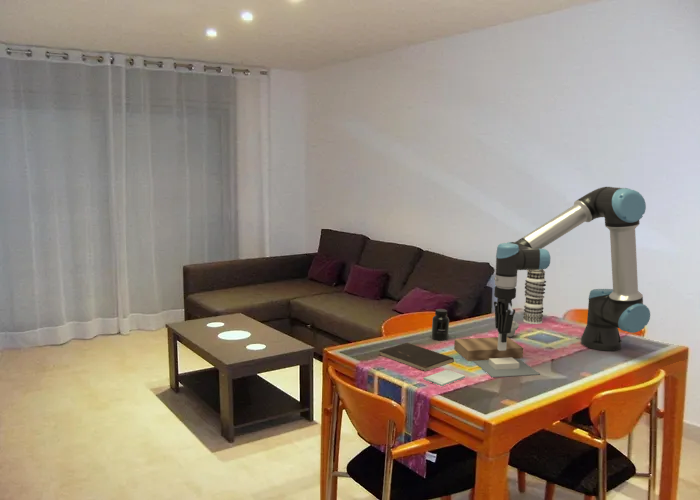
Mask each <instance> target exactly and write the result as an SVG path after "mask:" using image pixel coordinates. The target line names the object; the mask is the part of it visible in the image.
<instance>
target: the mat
mask: <svg viewBox="0 0 700 500" xmlns="http://www.w3.org/2000/svg"><path fill="white" fill-rule="evenodd" d="M515 360H516V361H517V362H519V368H518V369H499V370H495V369H494V368H493V367H492V366H491V365H489V360H480V361H473V362H474V363H475V365H477V366H478V368H480V367H481V368H482V369H481V368H480V369H481V370H483V372H484V373H486V372H487V373H488V374H489V375H490V376H491V378H492V377H493V378H508V377H509V378H510V377H521V376H522V377H526V376H541V373H539V372H538V370H536V369H534V368H532V366H530V365H528V364H527V363H526V362H525V361H523V360H522V359H521V358H517V359H515ZM487 373H486V374H487ZM488 374H487V375H488ZM489 375H488V376H489ZM490 376H489V377H490Z"/></svg>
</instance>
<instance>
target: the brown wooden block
mask: <svg viewBox="0 0 700 500" xmlns="http://www.w3.org/2000/svg"><path fill="white" fill-rule="evenodd" d="M453 347H454V350H455V351H456V352H457V353H458V354H459V355H460V356H461V357H463V359H465V360H466V361H467V362H474V361H483V360H489V359H491V358H511V357H512V358H513V359H523V358H524V347H523V346H522V345H520V344H518V343H517V342H515V341H514V340H513V339H511V337H507V344H506V350H504V351H499V350H498V349H497V348H498V336H495V337H493V336H492V337H474V338H454V344H453Z"/></svg>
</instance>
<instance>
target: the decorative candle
mask: <svg viewBox="0 0 700 500" xmlns="http://www.w3.org/2000/svg"><path fill="white" fill-rule="evenodd" d="M526 273H527V274H526V275H527V276H526V279H525V283H524V285H525V286H524V289H525V290H524V297H525V302H524V305H523V307H524V309H523V311H524V312H523V316H522V317H523V320H522V321H523V322H524V323H525V324H530V325H539V324H540V325H541V324H543V320H544V319H543V317H544V315H543V313H544V311H543V310H544V298H545V296H544V295H545V294H546V292H545V291H546V288H545V286H547V285H546V283H547V280H546V279H545V275H546V271H545V269H541V270H526Z"/></svg>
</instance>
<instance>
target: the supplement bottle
mask: <svg viewBox="0 0 700 500" xmlns="http://www.w3.org/2000/svg"><path fill="white" fill-rule="evenodd" d="M434 314H435V315H434V316H433V317H432V320H431V321H432V322H431V323H432V324H431V338H432V340H435V341H447V340H448V339H449V328H450V318H449V317H448V310H447V309H445V308H437V309H435V313H434Z"/></svg>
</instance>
